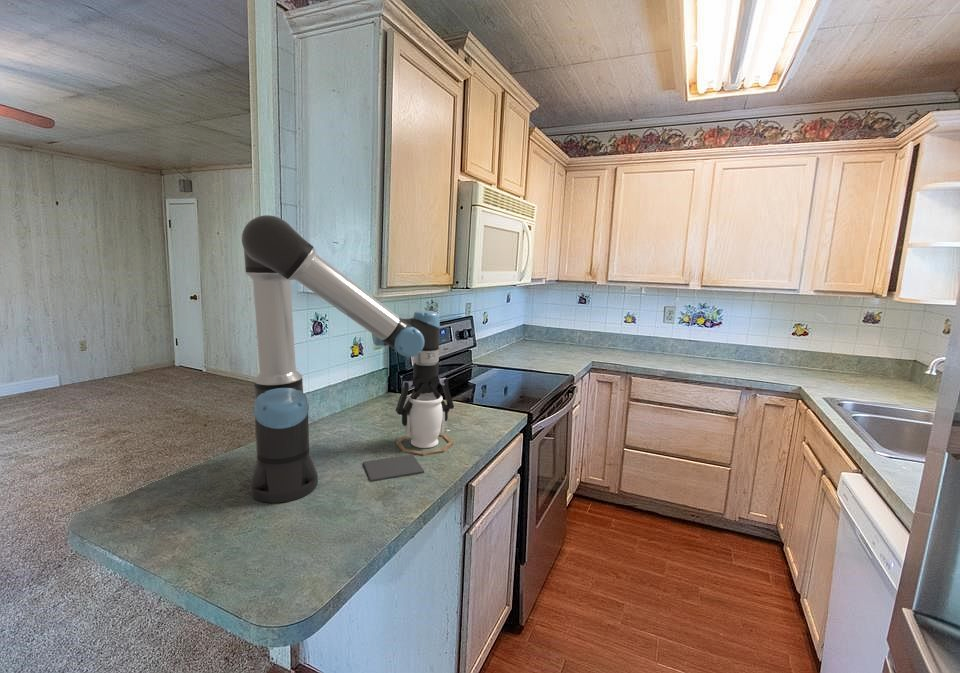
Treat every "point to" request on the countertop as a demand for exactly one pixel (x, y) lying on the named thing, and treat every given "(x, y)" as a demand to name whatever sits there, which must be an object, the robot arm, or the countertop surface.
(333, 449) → the countertop surface
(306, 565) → the countertop surface
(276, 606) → the countertop surface
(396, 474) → the mat
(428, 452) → the cork ring
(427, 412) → the jar
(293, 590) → the countertop surface
